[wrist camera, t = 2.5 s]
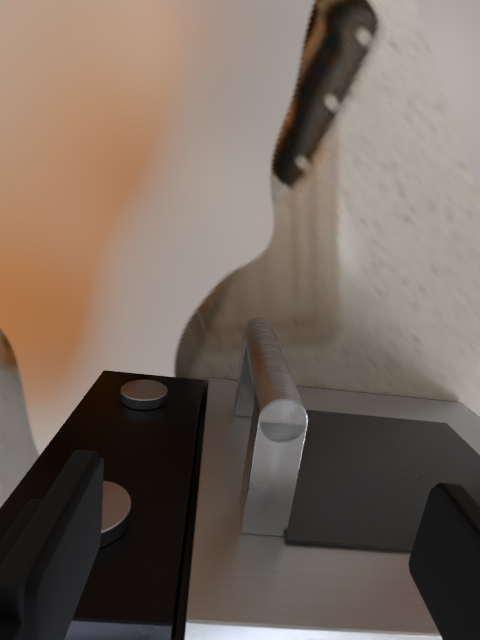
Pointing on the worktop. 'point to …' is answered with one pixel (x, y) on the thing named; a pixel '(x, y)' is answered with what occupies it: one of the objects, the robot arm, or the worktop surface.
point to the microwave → (132, 501)
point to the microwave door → (316, 504)
